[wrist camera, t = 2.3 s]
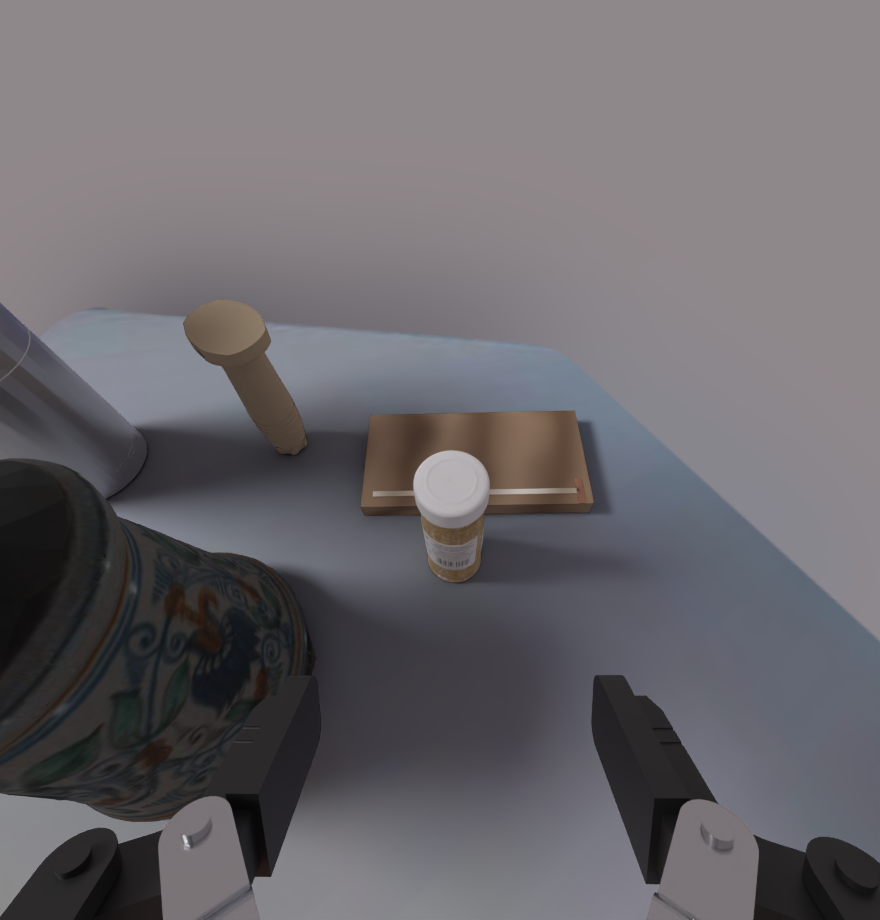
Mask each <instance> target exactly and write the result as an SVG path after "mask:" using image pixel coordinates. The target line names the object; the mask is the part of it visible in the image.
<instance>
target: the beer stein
mask: <svg viewBox="0 0 880 920" xmlns="http://www.w3.org/2000/svg"><path fill="white" fill-rule="evenodd" d="M315 659H316V658H315V654H314V651H313V647H312V644H311V640H310V637H309V633H308V630H307V626H306V623H305V619H304V616H303V612H302V609H301V607H300V604H299V602H298V600H297V598H296V596H295V594H294V592H293V591H292V589H291V587H290V586H289V585H288V584H287V582H286V581H285V580H284V579H283V578H282V577H281V576H280V575H279V574H278V573H277V572H276V571H274V570H273V569H272V568H270V567H269V566H267V565H265V564H264V563H262V562H260V561H258V560H256V559H254V558H250V557H247V556H243V555H238V554H233V553H210V552H207V551H204V550H202V549H199V548H196V547H194V546H192V545H190V544H187V543H184V542H182V541H179V540H176V539H174V538H172V537H169V536H167V535H165V534H162V533H160V532H157V531H155V530H152V529H149V528H147V527H145V526H142V525H140V524H137V523H134V522H131V521H129V520H126V519H123V518H120V517H118V516H117V515H116V513H115V512H114V510H113V508H112V507H111V505H110V504H109V503H108V502H107V500H106V499H105V498H104V497H103V496H102V495H101V493H100V492H99V491H98V490H97V489H96V488H95V487H94V486H93V485H92V484H91V483H90V482H89V481H88V480H86V479H85V478H84V477H83V476H82V475H80V474H79V473H78V472H76V471H74V470H72V469H70V468H68V467H66V466H64V465H60V464H56V463H53V462H49V461H43V460H37V459H28V458H8V459H2V460H0V793H3V794H7V795H16V796H28V797H37V798H47V799H55V800H69V801H75V802H78V803H83V804H86V805H88V806H89V807H91V808H93V809H94V810H96V811H98V812H100V813H102V814H104V815H107V816H109V817H112V818H115V819H120V820H124V821H131V822H148V821H160V820H167V819H172V817H173V816H174V815H175V814H176V813H178V812H179V811H180V810H181V809H182V808H184V807H185V806H187V805H188V804H190V803H192V802H194V801H196V800H198V799H200V798H201V797H202V795H203V794H204V792H205V790H206V788H207V787H208V785H209V783H210V782H211V780H212V778H213V776H214V775H215V773H216V771H217V769H218V768H219V766H220V764H221V763H222V761H223V759H224V757H225V756H226V754H227V752H228V751H229V749H230V747H231V745H232V744H234V741H235V738H236V737H237V735H238V733H239V732H240V730H242V726H243V725H244V723H245V721H246V719H247V718H248V716H249V714H250V713H251V711H252V709H254V708H255V707H256V706H257V705H258V704H259V703H260V702H261V701H262V700H263V699H264V698H265V697H267V696H277V695H278V693H279V691H280V689H281V687H282V685H283V684H284V682H285V680H286V678H287V677H288V676H311V673H312V670H313V666H314V663H315Z"/></svg>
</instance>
